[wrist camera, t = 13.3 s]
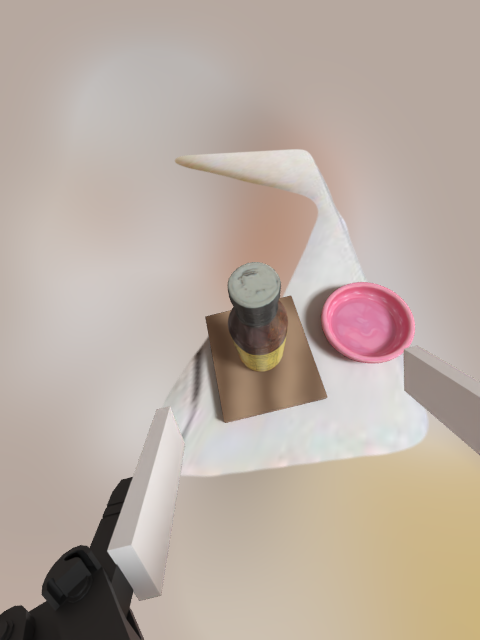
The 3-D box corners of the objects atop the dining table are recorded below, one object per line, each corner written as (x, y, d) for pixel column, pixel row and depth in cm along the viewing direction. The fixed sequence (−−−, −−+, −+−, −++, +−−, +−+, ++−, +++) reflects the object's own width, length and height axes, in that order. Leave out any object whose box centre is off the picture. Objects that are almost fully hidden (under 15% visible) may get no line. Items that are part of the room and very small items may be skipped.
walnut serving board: (225, 422, 35) (224, 422, 34) (207, 320, 42) (205, 316, 41) (325, 398, 35) (327, 396, 34) (290, 300, 42) (291, 295, 41)
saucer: (331, 374, 37) (336, 368, 34) (309, 299, 42) (312, 289, 39) (419, 359, 36) (432, 352, 34) (386, 286, 42) (394, 274, 39)
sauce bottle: (246, 328, 39) (227, 237, 21) (286, 338, 38) (304, 249, 20) (234, 370, 37) (201, 306, 19) (277, 381, 36) (286, 325, 18)
